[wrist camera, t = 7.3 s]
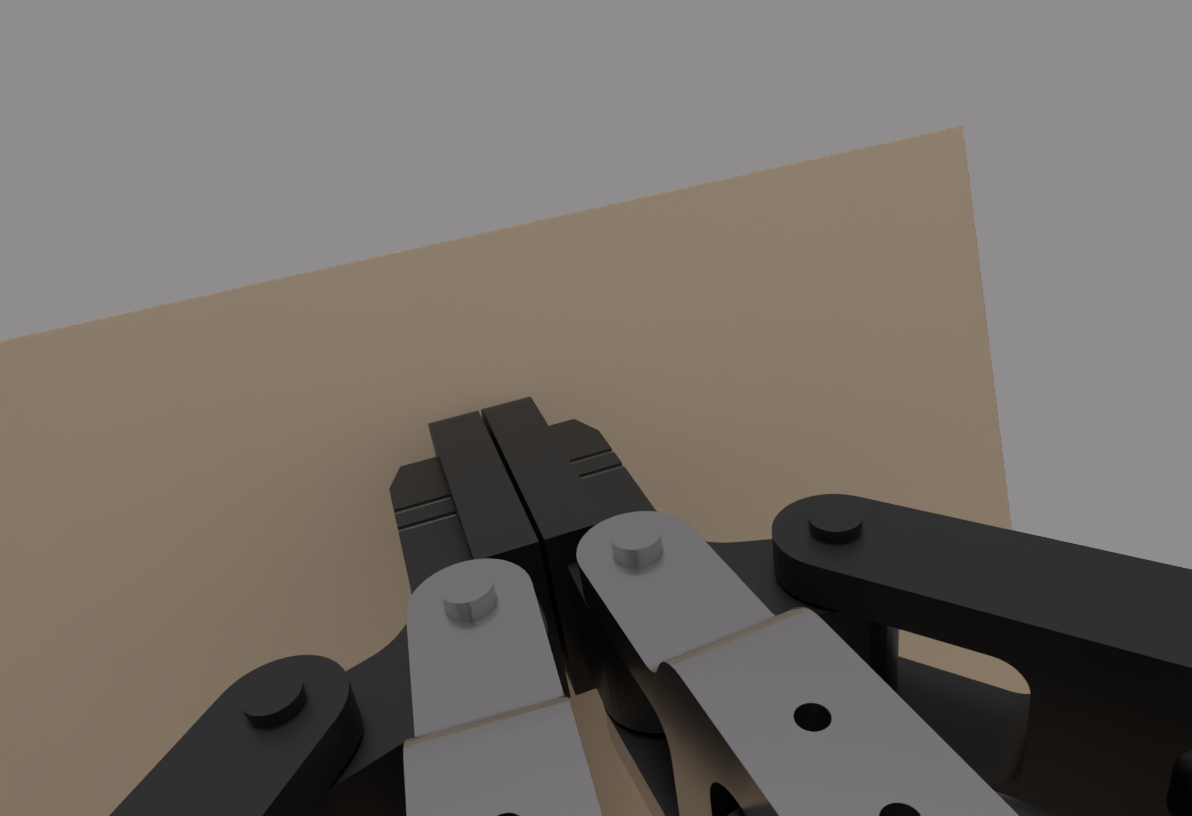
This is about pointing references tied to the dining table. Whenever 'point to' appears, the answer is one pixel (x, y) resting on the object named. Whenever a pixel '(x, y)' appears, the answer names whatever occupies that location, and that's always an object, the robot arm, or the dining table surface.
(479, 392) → the lid
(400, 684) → the robot arm
